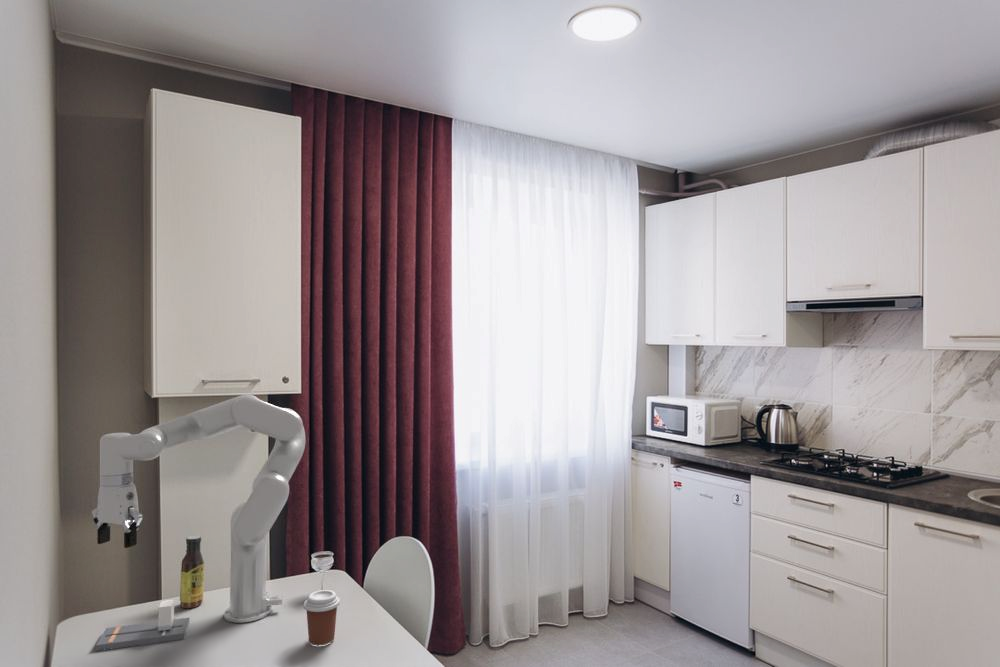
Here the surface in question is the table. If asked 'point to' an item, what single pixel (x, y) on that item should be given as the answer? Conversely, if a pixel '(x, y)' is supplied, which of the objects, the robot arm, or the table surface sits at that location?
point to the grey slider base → (141, 634)
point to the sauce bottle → (192, 574)
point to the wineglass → (322, 562)
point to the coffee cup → (321, 616)
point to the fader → (166, 615)
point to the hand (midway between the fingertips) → (117, 544)
